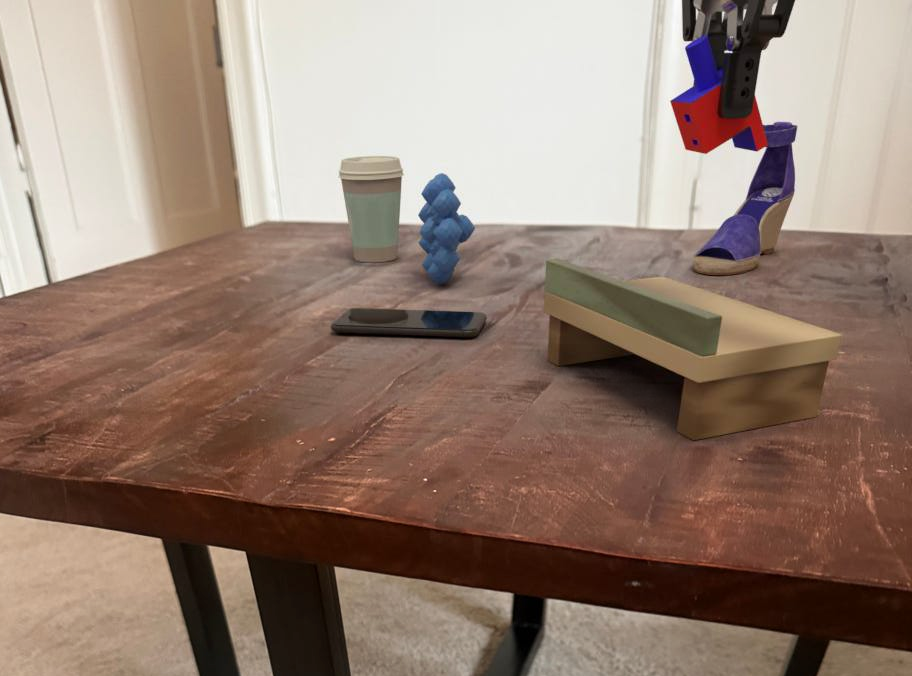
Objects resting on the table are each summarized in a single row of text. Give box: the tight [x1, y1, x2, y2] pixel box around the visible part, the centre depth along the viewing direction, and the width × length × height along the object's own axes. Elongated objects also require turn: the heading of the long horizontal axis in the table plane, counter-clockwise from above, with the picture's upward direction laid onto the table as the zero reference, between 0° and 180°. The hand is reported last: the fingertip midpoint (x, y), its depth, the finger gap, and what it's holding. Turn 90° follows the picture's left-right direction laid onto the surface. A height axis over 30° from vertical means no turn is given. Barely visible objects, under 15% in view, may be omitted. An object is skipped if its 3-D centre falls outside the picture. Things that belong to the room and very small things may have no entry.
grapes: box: [417, 172, 476, 285], centre depth 102 cm, size 12×7×12 cm, turn 13°
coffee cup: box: [338, 155, 405, 264], centre depth 116 cm, size 9×9×12 cm
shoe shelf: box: [543, 258, 843, 441], centre depth 69 cm, size 12×22×8 cm, turn 22°
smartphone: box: [330, 307, 488, 338], centre depth 88 cm, size 7×1×15 cm
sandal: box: [693, 121, 798, 276], centre depth 107 cm, size 8×20×15 cm, turn 133°
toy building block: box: [669, 35, 768, 155], centre depth 60 cm, size 4×4×8 cm
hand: (719, 114), depth 61 cm, fingers closed on toy building block, 3 cm apart
